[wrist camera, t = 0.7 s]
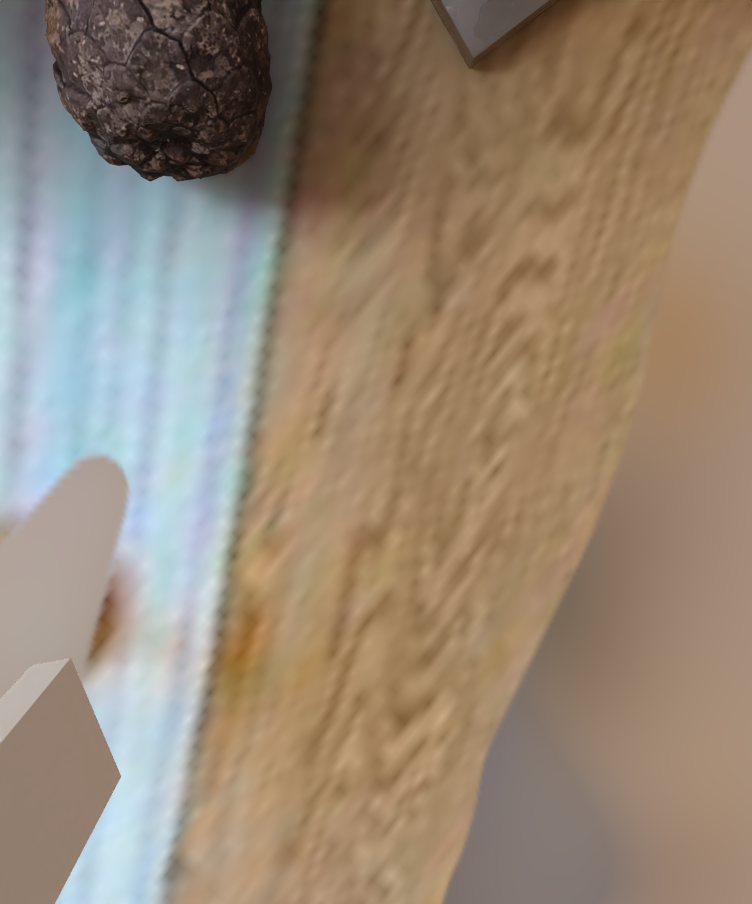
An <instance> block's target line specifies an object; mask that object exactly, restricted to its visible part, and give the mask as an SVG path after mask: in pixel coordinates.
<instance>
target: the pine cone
mask: <svg viewBox="0 0 752 904" xmlns="http://www.w3.org/2000/svg"><path fill="white" fill-rule="evenodd" d="M45 20H46V21H47V33H46V36H47V38H48V41H49V45H50V46H51V50H52V54H53V55H54V57H55V59H56V62H55V63H54V64H53V70H54V78H55V80H56V82H57V88H58V93H59V96H60V98H61V101H62V104H63V106H64V107H65V109H66V110H67V111H68V112H69V113H70V114H71V115H72V117H73V118H74V119H75V121H76V122H77V123H78V124H79V125H80V126H81V127H82V129H83V130H84V131H87V132H88V133H89V135H90V139H91V142H92V143H93V145H94V146H95V147H96V149H97V151H98V153H99V155H100V156H102V157H103V158H104V159H105V160H106V161H107V162H108V163H109V164H113V165H117V166H120V165H130V166H131V167H132V168H133V169H134V170H135V171H136V172H138V173H139V174H140V175H141V177H143V178H145V179H147V180H148V181H152V180H155V179H157V178H159V177H162V176H171V177H173V178H174V179H175V180H176V181H184V180H191V179H196V178H200V179H201V178H205V177H209V176H213V175H217V174H226V173H228V172H230V171H231V170H233V169H234V168H235V167H238V166H240V165H241V164H242V163H243V162H244V161H246V160H247V159H248V158H249V157H250V156H252V155H253V154H254V153H255V150H256V147H257V143H258V141H259V138H260V135H261V132H262V128H263V126H264V119H265V111H266V106H267V103H268V99H269V96H270V93H271V90H272V83H271V78H270V73H269V69H270V58H271V57H270V54H269V51H268V32H267V27H266V24H265V21H264V18H263V16H262V13H261V0H46V10H45Z"/></svg>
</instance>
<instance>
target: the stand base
mask: <svg viewBox="0 0 752 904" xmlns="http://www.w3.org/2000/svg"><path fill="white" fill-rule="evenodd" d="M431 1H432V3H433V5H434V7H435V8H436V10H437V12H438V14H439V16H440V17H441V19H442V21H443V23H444V24H445V26H446V28H447V30H448V31H449V33H450V35H451V37H452V39H453V40H454V42H455V44H456V46H457V47H458V49H459V51H460V53H461V55H462V56H463V58H464V60H465V62H466V63H467V65H468V67H469V68H471V67H472V66H473V65H475V64H476V63H477V62H479V61H480V60H481V59H482V58H484V57H485V56H486V55H488V54H489V53H490V52H492V51H493V50H494V49H496V48H497V47H498V46H499V45H501V44H502V43H503V42H505V41H506V40H507V39H509V38H510V37H511V36H513V35H514V34H515V33H517V32H518V31H519V30H520V29H522V28H523V27H524V26H526V25H527V24H528V23H530V22H531V21H532V20H534V19H535V18H536V17H537V16H539V15H540V14H541V13H543V12H544V11H545V10H547V9H548V8H549V7H551V6H552V5H553V4H555V3H556V2H557V1H558V0H431Z"/></svg>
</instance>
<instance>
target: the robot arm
mask: <svg viewBox="0 0 752 904" xmlns="http://www.w3.org/2000/svg"><path fill="white" fill-rule="evenodd" d="M120 778H121V775H120V773H119V770H118V768H117V766H116V763H115V761H114V759H113V756H112V754H111V752H110V749H109V747H108V744H107V742H106V740H105V737H104V735H103V733H102V730H101V728H100V726H99V723H98V721H97V718H96V716H95V714H94V711H93V709H92V707H91V704H90V702H89V700H88V697H87V695H86V692H85V690H84V688H83V685H82V683H81V681H80V678H79V676H78V674H77V671H76V669H75V666H74V664H73V662H72V659H71V658H67V659H62V660H57V661H51V662H46V663H41V664H36V665H31V666H30V667H29V669H28V670H27V671H26V672H25V673H24V674H23V675H22V676H21V678H19V680H18V681H17V682H16V683H15V684H14V685H13V687H11V688H10V689H9V691H8V692H7V693H6V694H5V695H4V696H3V697H2V698H1V699H0V904H55V902H56V900H57V898H58V896H59V894H60V892H61V891H62V889H63V887H64V885H65V883H66V881H67V879H68V877H69V875H70V873H71V871H72V869H73V868H74V866H75V864H76V862H77V860H78V858H79V856H80V854H81V852H82V850H83V848H84V846H85V845H86V843H87V841H88V839H89V837H90V835H91V833H92V831H93V829H94V827H95V825H96V824H97V822H98V820H99V818H100V816H101V814H102V812H103V810H104V808H105V806H106V804H107V802H108V801H109V799H110V797H111V795H112V793H113V791H114V789H115V787H116V785H117V783H118V781H119V780H120Z"/></svg>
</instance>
